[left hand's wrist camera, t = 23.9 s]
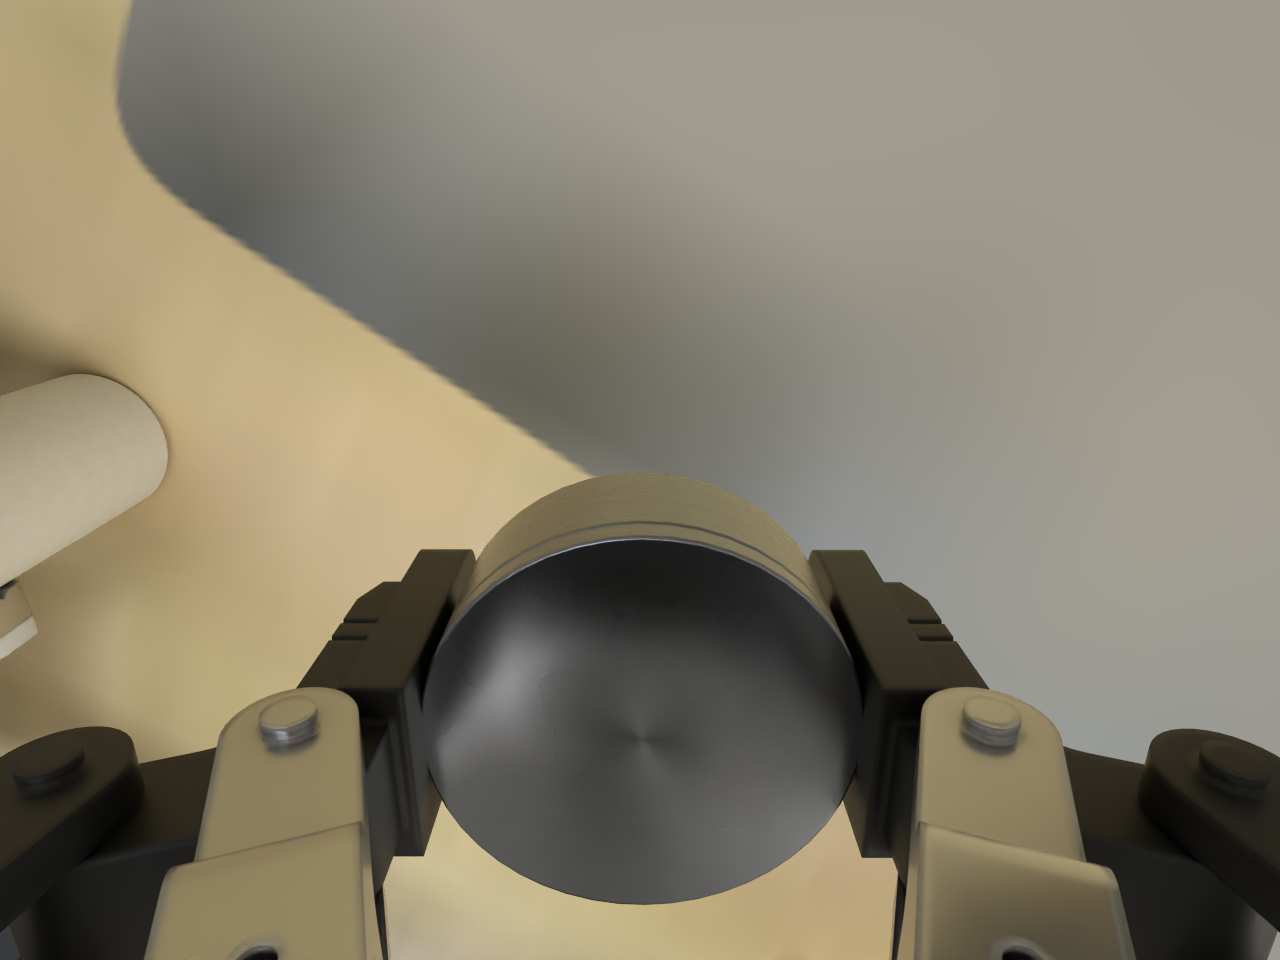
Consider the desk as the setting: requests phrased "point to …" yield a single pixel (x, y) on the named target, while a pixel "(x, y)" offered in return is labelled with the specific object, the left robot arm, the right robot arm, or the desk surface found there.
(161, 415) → the desk surface
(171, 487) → the desk surface
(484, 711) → the lid
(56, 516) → the beige tapered cylinder
